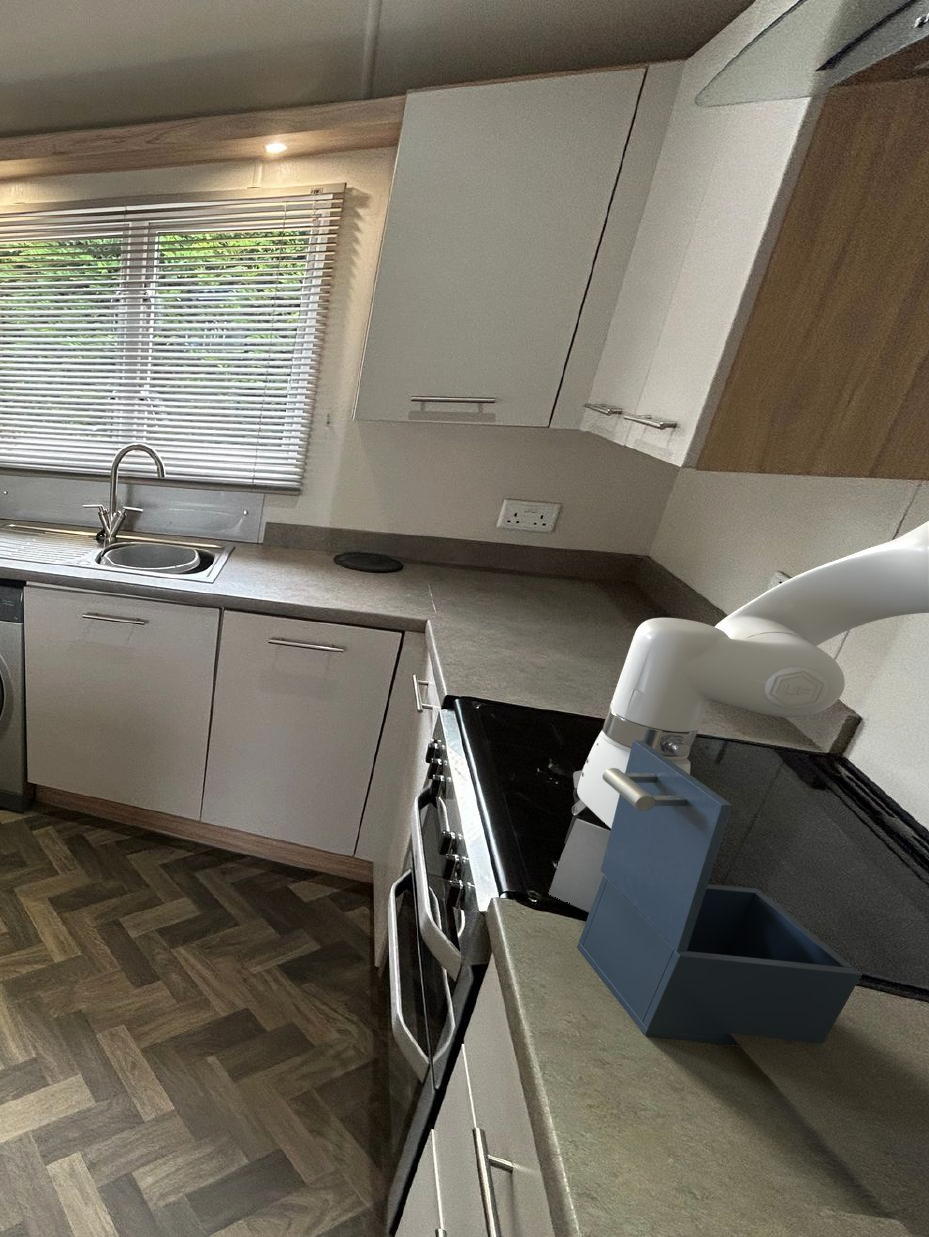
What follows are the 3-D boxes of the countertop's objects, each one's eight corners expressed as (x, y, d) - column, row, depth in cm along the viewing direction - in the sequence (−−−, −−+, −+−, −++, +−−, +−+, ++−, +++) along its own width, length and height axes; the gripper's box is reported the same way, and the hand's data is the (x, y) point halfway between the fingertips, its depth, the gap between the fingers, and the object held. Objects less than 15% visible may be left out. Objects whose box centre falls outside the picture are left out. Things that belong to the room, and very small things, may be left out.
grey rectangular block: (616, 924, 83) (644, 852, 79) (548, 894, 87) (571, 824, 84) (624, 910, 85) (651, 839, 81) (557, 881, 90) (580, 813, 86)
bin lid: (641, 740, 70) (586, 740, 71) (733, 805, 59) (666, 804, 60) (608, 870, 75) (557, 869, 76) (686, 952, 65) (626, 949, 66)
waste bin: (722, 962, 77) (757, 888, 74) (816, 1055, 67) (862, 974, 63) (576, 947, 79) (603, 874, 76) (644, 1035, 69) (680, 955, 65)
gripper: (749, 775, 69) (685, 922, 76) (634, 701, 85) (589, 827, 92) (663, 769, 70) (608, 914, 77) (566, 697, 86) (526, 821, 93)
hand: (598, 865), depth 84 cm, fingers closed on grey rectangular block, 7 cm apart
